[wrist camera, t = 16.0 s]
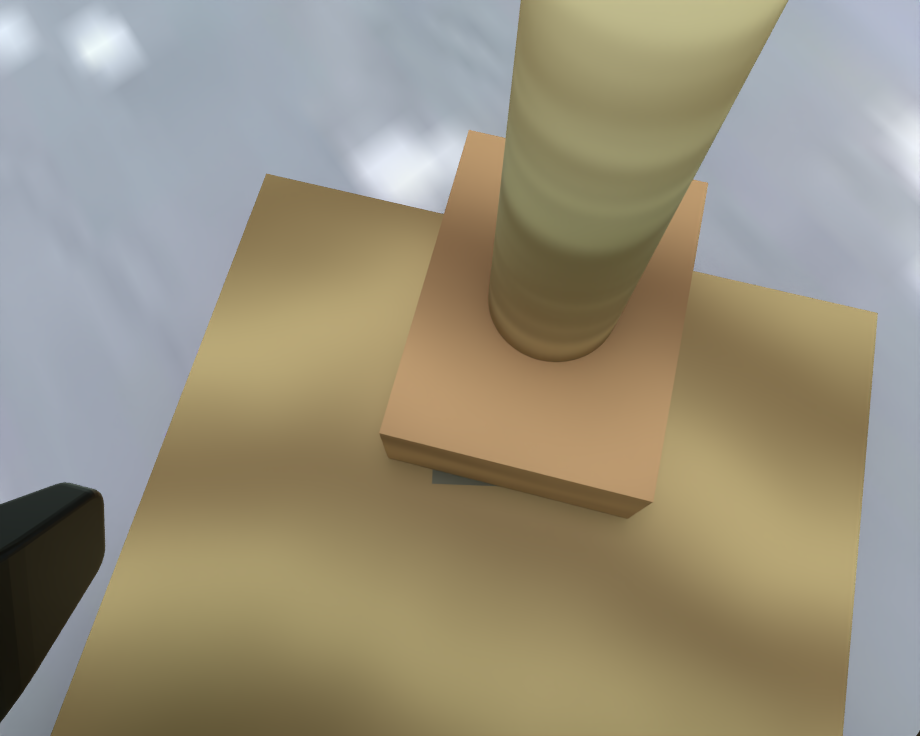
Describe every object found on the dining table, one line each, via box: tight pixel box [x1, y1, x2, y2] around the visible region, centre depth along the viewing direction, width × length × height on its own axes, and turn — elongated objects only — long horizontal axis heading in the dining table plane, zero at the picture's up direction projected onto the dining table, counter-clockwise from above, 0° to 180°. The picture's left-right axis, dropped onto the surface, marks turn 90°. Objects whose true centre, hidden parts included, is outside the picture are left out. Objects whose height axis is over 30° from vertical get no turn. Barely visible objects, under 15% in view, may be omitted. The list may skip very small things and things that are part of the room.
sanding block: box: [379, 0, 788, 519], centre depth 14 cm, size 8×6×13 cm
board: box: [51, 174, 878, 736], centre depth 19 cm, size 17×17×2 cm
